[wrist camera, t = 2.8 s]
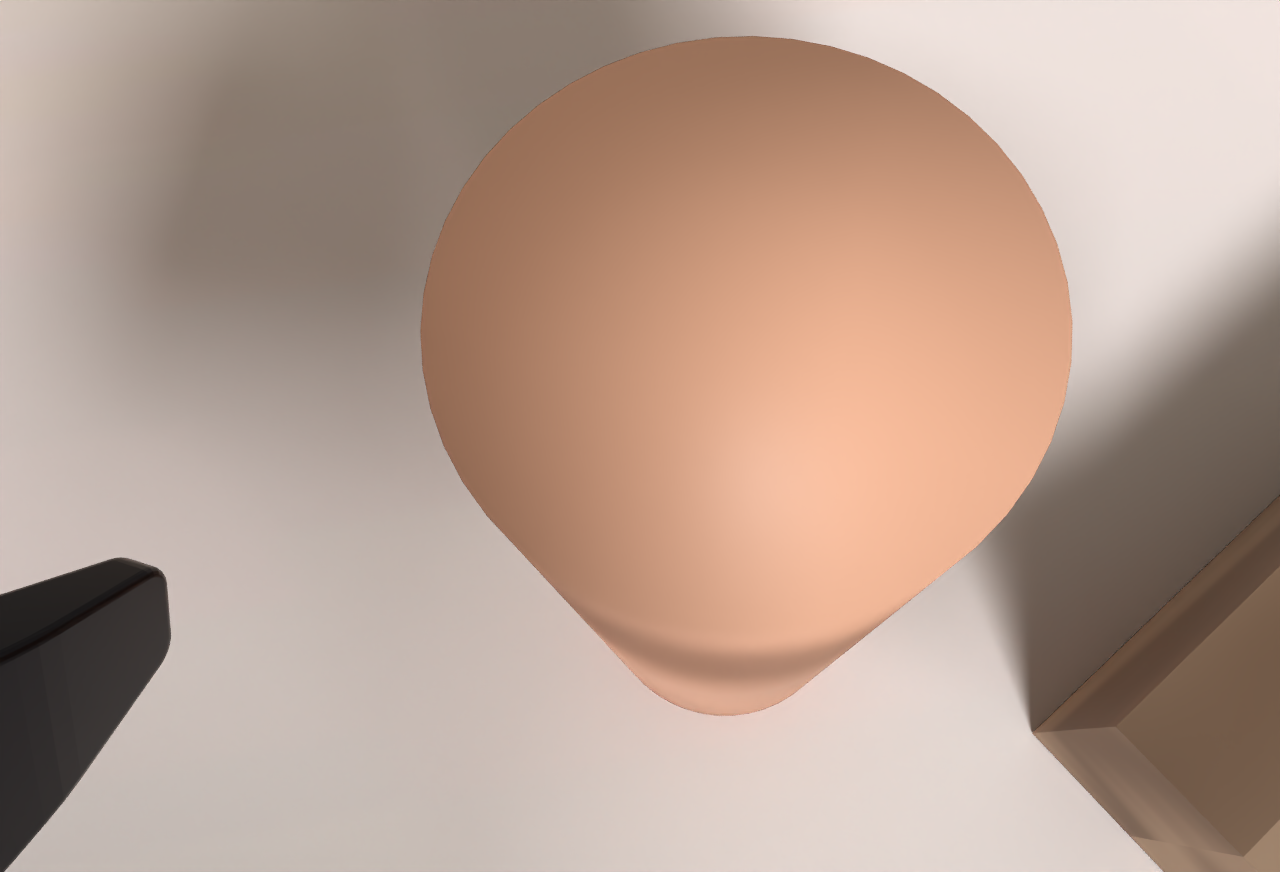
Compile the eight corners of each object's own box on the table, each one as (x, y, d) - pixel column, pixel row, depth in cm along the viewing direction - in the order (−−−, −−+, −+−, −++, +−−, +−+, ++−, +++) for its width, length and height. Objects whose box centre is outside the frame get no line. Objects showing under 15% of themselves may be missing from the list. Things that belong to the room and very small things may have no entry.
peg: (892, 605, 19) (1216, 326, 7) (712, 768, 19) (712, 787, 6) (731, 433, 20) (759, -64, 8) (557, 581, 20) (298, 288, 7)
